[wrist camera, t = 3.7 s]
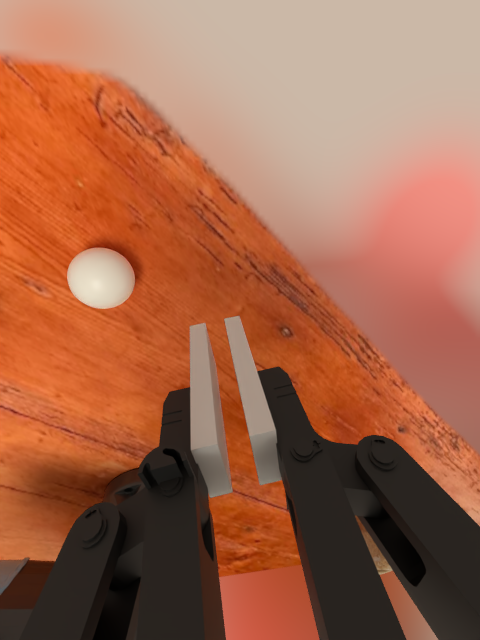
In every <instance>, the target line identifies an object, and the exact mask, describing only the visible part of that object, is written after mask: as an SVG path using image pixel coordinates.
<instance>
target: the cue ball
mask: <svg viewBox="0 0 480 640" xmlns="http://www.w3.org/2000/svg"><path fill="white" fill-rule="evenodd" d="M67 280H68V284H69V287H70V289H71V291H72V293H73V294H74V295H75V297H76V298H77V299H79V300H80V301H81V302H83V303H84V304H86V305H88V306H91V307H94V308H99V309H107V308H113V307H116V306H118V305H120V304H122V303H123V302H125V301H126V300H127V299H128V298H129V297H130V295H131V293H132V292H133V289H134V285H135V275H134V271H133V268H132V266H131V265H130V263H129V262H128V261H127V259H126V258H125V257H123V256H122V255H121V254H119V253H118V252H116V251H114V250H111V249H107V248H100V247H99V248H90V249H87V250H84V251H82V252H81V253H79V254H78V255H77V256H76V257H74V259H73V260H72V261H71V263H70V265H69V268H68V272H67Z"/></svg>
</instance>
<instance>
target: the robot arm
mask: <svg viewBox="0 0 480 640" xmlns="http://www.w3.org/2000/svg"><path fill="white" fill-rule="evenodd" d="M224 321H225V326H226V330H227V335H228V340H229V345H230V350H231V354H232V359H233V364H234V368H235V373H236V378H237V382H238V387H239V391H240V396H241V401H242V405H243V410H244V414H245V419H246V424H247V428H248V433H249V437H250V442H251V446H252V451H253V456H254V460H255V465H256V469H257V474H258V479H259V483H260V485H263V484H267V483H271V482H275V481H279V480H282V481H283V484H284V488H285V493H286V502H287V510H288V509H289V513H290V517H291V521H292V525H293V529H294V534H295V538H296V542H297V546H298V550H299V555H300V559H301V563H302V567H303V571H304V576H305V580H306V584H307V588H308V592H309V596H310V601H311V605H312V609H313V613H314V617H315V622H316V626H317V630H318V634H319V638H320V640H406V638H405V635H404V633H403V630H402V628H401V626H400V623H399V621H398V618H397V616H396V614H395V611H394V609H393V606H392V604H391V602H390V599H389V597H388V594H387V592H386V590H385V587H384V585H383V583H382V580H381V578H380V575H379V573H378V570H377V568H376V565H375V563H374V561H373V558H372V556H371V553H370V551H369V549H368V546H367V544H366V541H365V539H364V537H363V534H362V532H361V529H360V527H359V525H358V522H357V520H356V517H355V515H356V516H357V517H358V518H359V520H360V521H361V523H362V524H363V526H364V527H365V529H366V531H367V532H368V534H369V535H370V537H371V538H372V540H373V541H374V543H375V544H376V546H377V547H378V549H379V550H380V552H381V553H382V555H383V556H384V558H385V559H386V561H387V562H388V564H389V565H390V567H391V568H392V570H393V571H394V573H395V574H396V576H397V577H398V579H399V580H400V582H401V584H402V585H403V587H404V588H405V590H406V591H407V592H408V594H409V596H410V597H411V599H412V600H413V602H414V603H415V605H416V606H417V608H418V609H419V611H420V612H421V614H422V615H423V617H424V618H425V620H426V621H427V623H428V624H429V626H430V627H431V629H432V630H433V632H434V633H435V635H436V637H437V638H438V639H439V640H480V526H479V525H478V524H477V523H476V522H475V521H474V520H473V519H472V518H471V517H470V516H469V515H468V514H467V513H466V512H465V511H464V510H463V509H462V508H461V507H460V506H459V505H458V504H457V503H456V502H455V501H454V500H453V499H452V498H451V497H450V496H449V495H448V494H447V493H446V492H445V491H444V490H443V489H442V488H441V487H440V486H439V485H438V484H437V483H436V482H435V481H434V479H433V478H432V477H431V476H430V475H429V474H428V473H427V472H426V471H425V470H424V469H423V468H422V467H421V466H420V465H419V464H418V463H417V462H416V461H415V460H414V459H413V458H412V457H411V456H410V455H409V454H408V453H407V452H406V451H405V450H404V449H403V448H402V447H401V446H400V445H398V444H397V443H396V442H394V441H393V440H391V439H389V438H386V437H384V436H377V435H371V436H367V437H364V438H363V439H362V440H361V441H359V443H358V445H355V444H342V443H335V442H331V441H328V440H326V439H324V438H322V437H321V436H319V435H318V434H317V433H316V432H315V431H314V429H313V428H312V426H311V424H310V422H309V420H308V417H307V415H306V413H305V411H304V409H303V406H302V404H301V402H300V400H299V398H298V395H297V394H296V391H295V389H294V387H293V385H292V382H291V380H290V378H289V376H288V374H287V373H286V372H285V371H284V370H282V369H281V368H280V367H275V368H270V369H266V370H261V371H257V369H256V366H255V363H254V360H253V357H252V354H251V351H250V348H249V344H248V341H247V338H246V335H245V332H244V329H243V326H242V323H241V320H240V316H235V317H230V318H226V319H224ZM162 415H163V417H162V427H161V434H160V444H159V447H157V448H155V449H154V450H152V451H151V452H150V453H149V454H148V455H147V456H146V457H145V458H144V460H143V461H142V463H141V464H140V467H139V469H135V470H131V471H129V472H126V473H124V474H121V475H120V476H118V477H116V478H115V479H113V480H112V481H111V482H110V483H109V484H108V486H107V488H106V490H105V494H104V498H103V502H102V503H99V504H95V505H94V506H92V507H90V508H89V509H87V510H86V511H85V512H84V513H83V514H82V515H81V516H80V517H79V518H78V519H77V520H76V521H75V523H74V525H73V526H72V528H71V530H70V531H69V533H68V536H67V538H66V540H65V542H64V544H63V546H62V548H61V551H60V553H59V555H58V557H57V559H56V561H37V560H29V559H30V558H24V559H23V560H0V640H226V637H225V628H224V619H223V610H222V601H221V592H220V582H219V573H218V564H217V555H216V546H215V537H214V528H213V519H212V515H211V512H210V509H209V500H208V493H209V496H210V498H212V497H216V496H220V495H224V494H228V493H232V492H233V491H232V483H231V475H230V468H229V460H228V453H227V445H226V437H225V430H224V422H223V415H222V407H221V400H220V392H219V384H218V377H217V369H216V363H215V359H214V355H213V351H212V348H211V344H210V340H209V336H208V332H207V328H206V324H205V323H202V324H197V325H192V326H190V387H189V388H185V389H180V390H176V391H171V392H169V394H168V396H167V398H166V400H165V401H164V404H163V414H162ZM281 477H282V478H281Z"/></svg>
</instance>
